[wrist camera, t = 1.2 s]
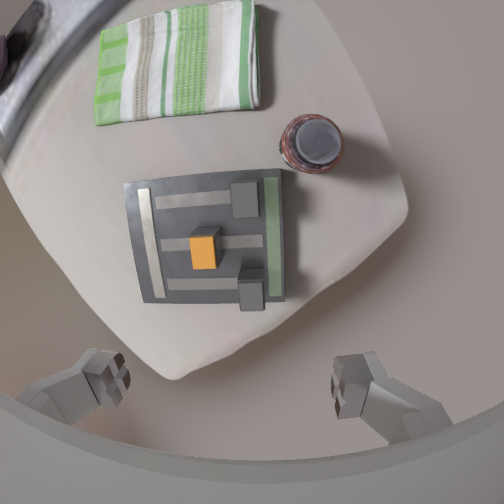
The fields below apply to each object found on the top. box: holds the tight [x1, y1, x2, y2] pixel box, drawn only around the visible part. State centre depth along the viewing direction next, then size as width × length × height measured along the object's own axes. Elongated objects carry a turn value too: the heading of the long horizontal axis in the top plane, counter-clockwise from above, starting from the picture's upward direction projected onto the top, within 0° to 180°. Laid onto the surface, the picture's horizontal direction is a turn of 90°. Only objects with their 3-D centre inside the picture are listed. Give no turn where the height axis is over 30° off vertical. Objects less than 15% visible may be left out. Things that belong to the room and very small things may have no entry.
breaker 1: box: [230, 178, 261, 219], centre depth 30 cm, size 4×3×4 cm
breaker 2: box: [237, 268, 265, 311], centre depth 33 cm, size 4×3×4 cm
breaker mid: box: [189, 227, 223, 269], centre depth 32 cm, size 4×3×4 cm
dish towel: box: [94, 0, 260, 126], centre depth 28 cm, size 17×23×4 cm
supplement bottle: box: [279, 114, 344, 174], centre depth 27 cm, size 6×6×11 cm
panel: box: [123, 168, 285, 304], centre depth 35 cm, size 17×20×2 cm
